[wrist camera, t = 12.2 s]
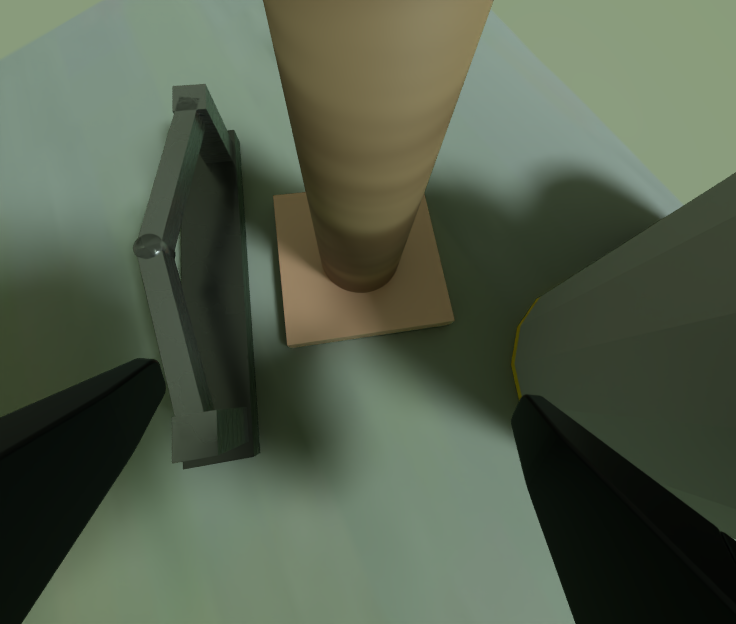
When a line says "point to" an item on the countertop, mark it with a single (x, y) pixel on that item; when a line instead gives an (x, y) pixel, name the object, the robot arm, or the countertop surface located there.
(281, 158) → the countertop surface
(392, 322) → the terracotta tile
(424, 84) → the tan wooden cylinder
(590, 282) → the soap bottle
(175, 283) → the gray metal frame
